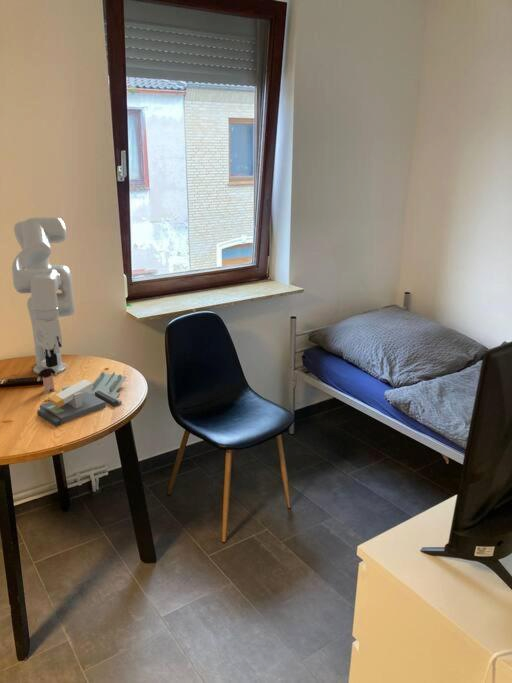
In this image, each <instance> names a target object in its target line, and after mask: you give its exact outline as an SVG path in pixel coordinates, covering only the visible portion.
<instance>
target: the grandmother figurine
mask: <svg viewBox="0 0 512 683" xmlns="http://www.w3.org/2000/svg"><path fill="white" fill-rule="evenodd" d="M41 367H42V368H43V369H44V370H42V371H41V372H40V373H39V374H37V379H36V381H37V382H40V381H41V378H42V382H43V393H44V394H50V393H51V392H56V387H55V382H54V378H53V376H55V377H56V378H57V377H58V373H56V372H55V371H54V370H53V369H52V368H49V367H47V366H46V359H45V360H43V361H41ZM51 373H52V374H51Z"/></svg>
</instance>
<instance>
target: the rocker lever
mask: <svg viewBox="0 0 512 683" xmlns="http://www.w3.org/2000/svg"><path fill="white" fill-rule="evenodd" d="M93 388H94V387H93V382H90V381H89V380H87V379H85V378H84V379H82V380H80V381H78V382H75V384H72V385H71V386H69V388H66V389H65V390H63V391H62V390H61V391H59V392H58V393H56V394H54V395H51V396H49V397H48V400H49V402H50V403H51V404H53V405H54V406H56V407H58V408H59V407H61V406H63V405H65V404H66V403H67V402H69V401H71V400H73V399H74V394H76V393H79V392H81V394H84V393H85V392H87V391H89V390H91V389H93Z"/></svg>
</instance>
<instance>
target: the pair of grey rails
mask: <svg viewBox="0 0 512 683" xmlns="http://www.w3.org/2000/svg"><path fill="white" fill-rule="evenodd" d="M94 396H96V397H97V398H99V399H101V400H103V401H105V404H108V405H109V406H112V407H113V408H115V407H117V406H120V405H123V404H122V400H121V399H119V398H115V397H113V396H111V395H109V394H107V393H105V392H104V391H96V392H95V395H94ZM37 415H38V416H39V417H41V419H43V420H44V421H46V422H48V423H49V424H50V425H53V427H55V428H57V427H60V426H62V424H61V420H60V419H58V418H56V417H55V416H53V415H52V414H50V413H49V412H47V411H45V410H44V409H40V408H39V409H38V410H37Z"/></svg>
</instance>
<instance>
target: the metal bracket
mask: <svg viewBox="0 0 512 683" xmlns="http://www.w3.org/2000/svg"><path fill="white" fill-rule="evenodd" d="M126 379H127V376H124V375H122V374H115V371H113V372H112V373H111V374H109V373H105V372H104V371H101V373H99V375H98V376H97V378H96V379H95V380H94V382H92V384H93V387H94V388H93V389H91V390H89V391H87V392H88V393H90V394H92V395H94V396H95V392H96V391H104V392H105V393H107V394H109V395H111V396H113V397H115V398H117V399H119V396H120V395H121V393H120V392H117V391H119V388H120V387H121V386H122V384H123V383H124V382H125V380H126Z"/></svg>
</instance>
